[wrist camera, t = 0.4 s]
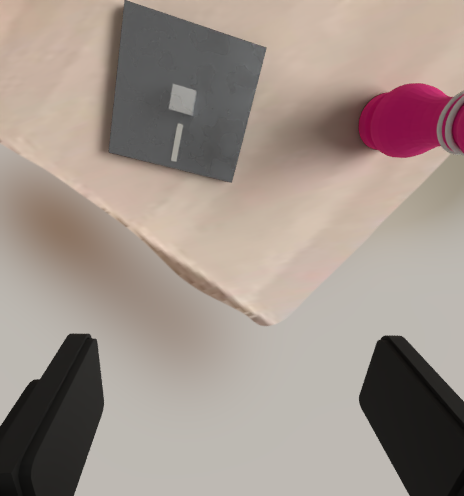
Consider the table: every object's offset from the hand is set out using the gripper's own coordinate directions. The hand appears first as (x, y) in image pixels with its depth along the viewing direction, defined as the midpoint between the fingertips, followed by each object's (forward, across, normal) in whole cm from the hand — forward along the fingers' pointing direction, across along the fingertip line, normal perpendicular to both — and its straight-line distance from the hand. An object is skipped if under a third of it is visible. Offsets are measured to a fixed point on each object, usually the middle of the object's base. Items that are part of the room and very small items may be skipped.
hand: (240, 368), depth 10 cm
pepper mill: (+30, -20, -9) cm, 37 cm away
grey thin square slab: (+29, +4, -9) cm, 31 cm away
